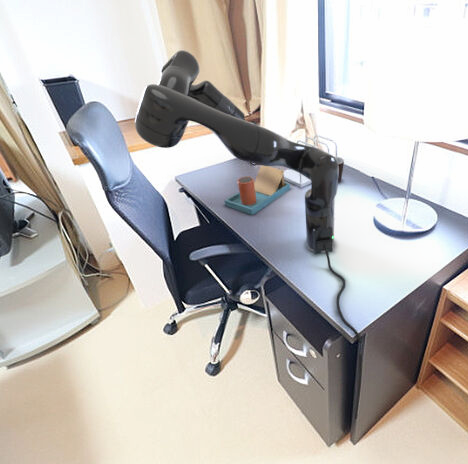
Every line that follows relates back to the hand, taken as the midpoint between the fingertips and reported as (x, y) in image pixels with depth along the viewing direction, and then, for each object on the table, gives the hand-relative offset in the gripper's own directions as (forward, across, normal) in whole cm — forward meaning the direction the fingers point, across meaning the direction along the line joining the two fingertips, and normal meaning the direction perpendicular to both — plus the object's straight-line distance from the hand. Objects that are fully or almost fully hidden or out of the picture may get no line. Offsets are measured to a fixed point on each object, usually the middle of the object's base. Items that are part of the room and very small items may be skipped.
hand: (261, 145), depth 111 cm
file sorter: (+40, -20, +16) cm, 48 cm away
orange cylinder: (+19, -20, -10) cm, 29 cm away
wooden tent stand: (+25, -22, -3) cm, 33 cm away
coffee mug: (+40, -6, +18) cm, 44 cm away
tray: (+22, -21, -9) cm, 31 cm away
